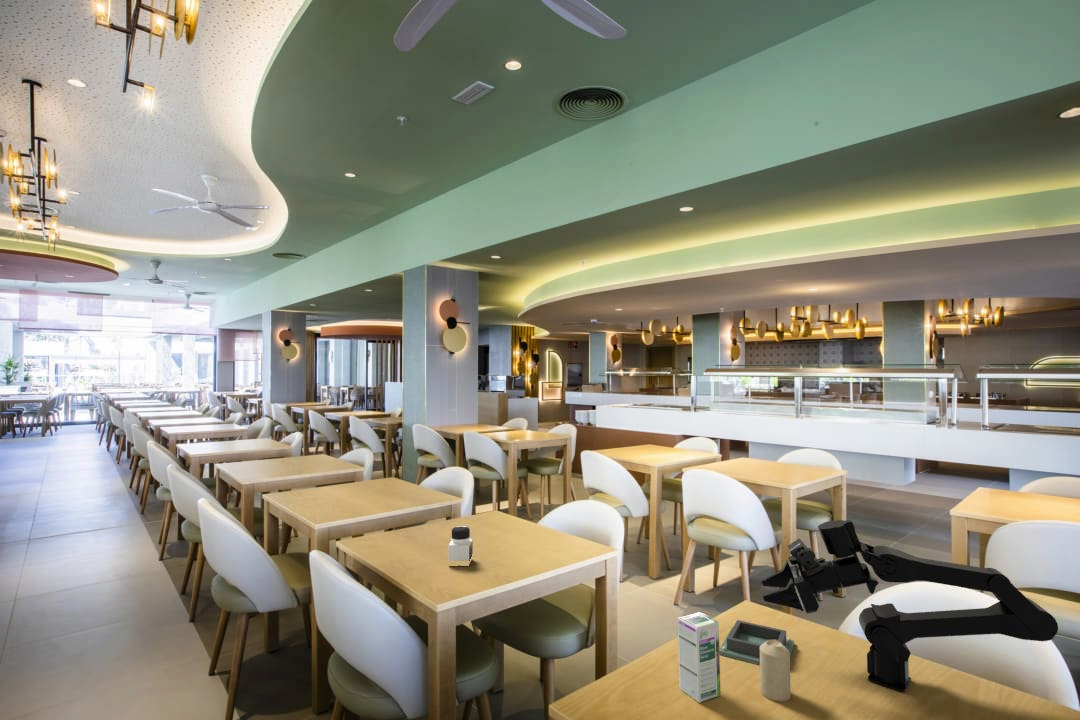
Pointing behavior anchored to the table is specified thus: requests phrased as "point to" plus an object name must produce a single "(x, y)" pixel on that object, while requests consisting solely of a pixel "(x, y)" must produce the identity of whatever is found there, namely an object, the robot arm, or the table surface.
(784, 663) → the candle
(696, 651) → the syrup box
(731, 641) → the header socket
